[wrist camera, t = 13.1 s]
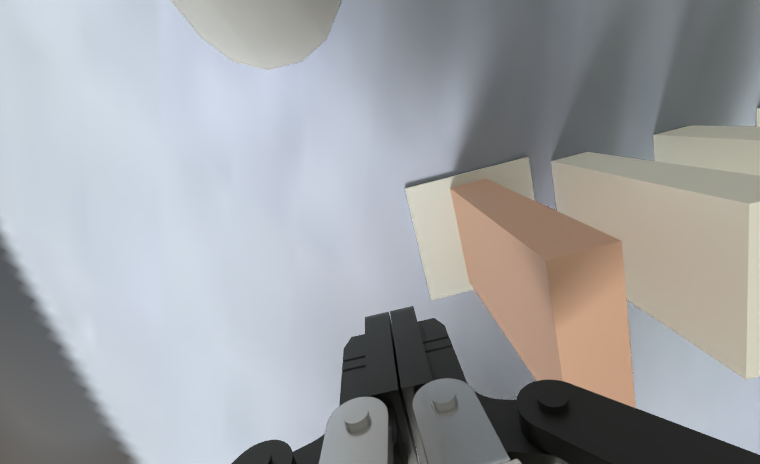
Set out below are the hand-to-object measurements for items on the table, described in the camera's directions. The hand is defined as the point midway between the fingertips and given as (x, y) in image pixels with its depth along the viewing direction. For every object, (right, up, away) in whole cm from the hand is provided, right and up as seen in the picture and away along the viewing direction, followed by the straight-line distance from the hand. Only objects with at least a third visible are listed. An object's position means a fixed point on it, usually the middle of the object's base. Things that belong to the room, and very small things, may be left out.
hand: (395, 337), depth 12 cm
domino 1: (+4, +3, +7) cm, 9 cm away
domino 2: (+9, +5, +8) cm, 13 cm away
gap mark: (+4, +3, +8) cm, 9 cm away
